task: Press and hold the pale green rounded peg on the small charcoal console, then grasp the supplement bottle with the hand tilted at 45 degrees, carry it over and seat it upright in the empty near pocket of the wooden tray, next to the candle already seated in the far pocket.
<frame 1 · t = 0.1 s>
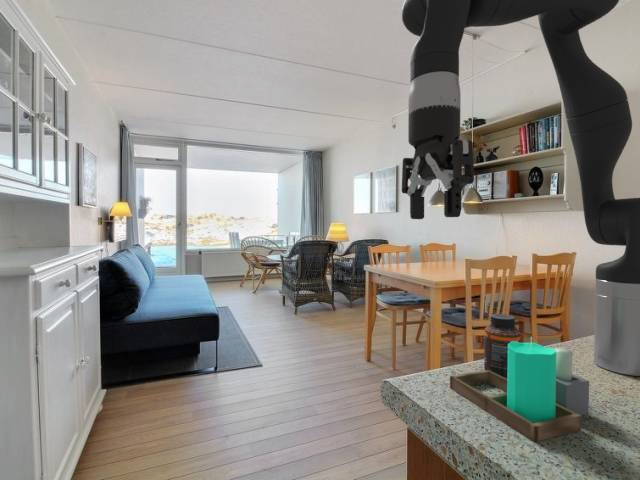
hand: (433, 218, 53), 29 cm above the countertop, tool pointing down, fingers open, 8 cm apart
supplement bottle: (501, 377, 64), on the countertop
candle: (530, 420, 50), resting in wooden tray
wooden tray: (507, 406, 54), on the countertop
start console: (561, 409, 53), on the countertop
pale green rounded peg: (562, 370, 52), point 6 cm above the countertop, slide at 0.0 cm
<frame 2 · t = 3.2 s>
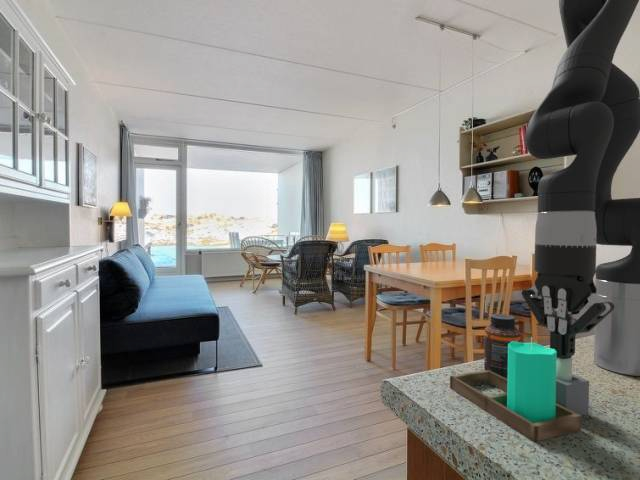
hand: (561, 356, 52), 8 cm above the countertop, tool pointing down, fingers closed
pale green rounded peg: (562, 376, 52), point 5 cm above the countertop, slide at 1.0 cm, touching gripper
everything else where it was.
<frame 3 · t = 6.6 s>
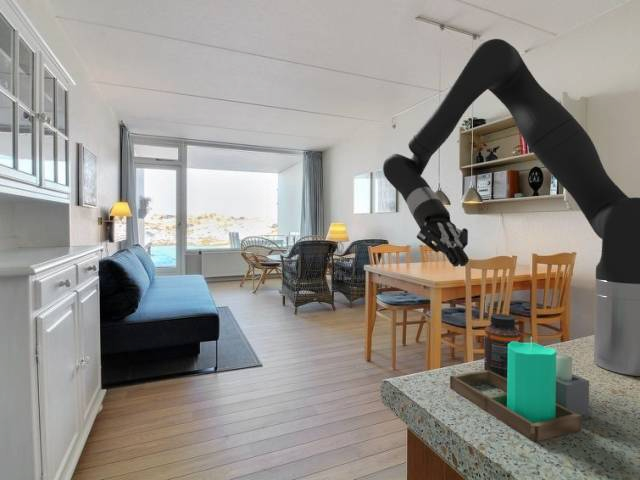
hand: (461, 263, 74), 20 cm above the countertop, tool tilted 45°, fingers closed
pale green rounded peg: (562, 376, 53), point 5 cm above the countertop, slide at 1.0 cm
everything else where it was.
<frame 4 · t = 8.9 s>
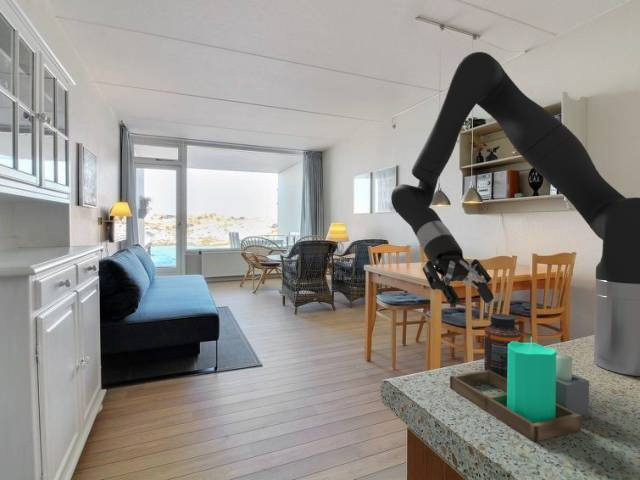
hand: (473, 302, 71), 12 cm above the countertop, tool tilted 45°, fingers open, 8 cm apart
nothing on the countertop moved.
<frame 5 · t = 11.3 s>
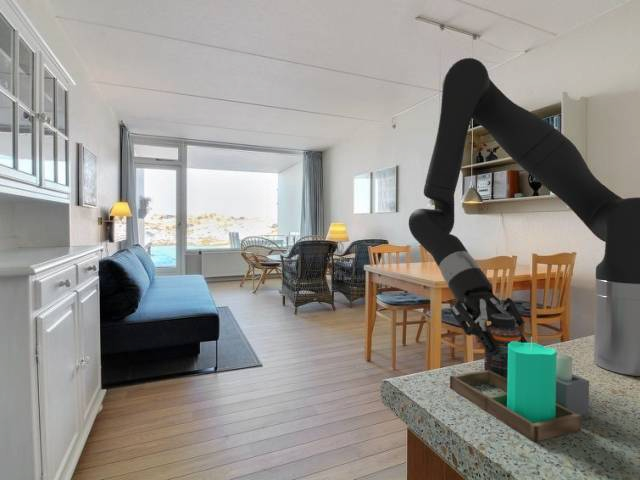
hand: (510, 351, 63), 5 cm above the countertop, tool tilted 45°, fingers closed on supplement bottle, 6 cm apart
supplement bottle: (501, 377, 64), on the countertop, touching gripper
everything else where it was.
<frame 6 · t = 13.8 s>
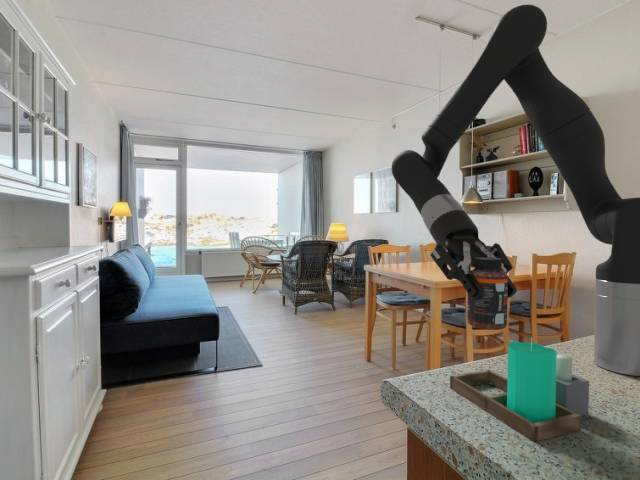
hand: (496, 296, 55), 17 cm above the countertop, tool tilted 45°, fingers closed on supplement bottle, 6 cm apart
supplement bottle: (486, 327, 57), point 11 cm above the countertop, touching gripper
everything else where it was.
when the fingers open (6 cm above the countertop, at t = 16.1 s): supplement bottle drops 1 cm, resting in wooden tray.
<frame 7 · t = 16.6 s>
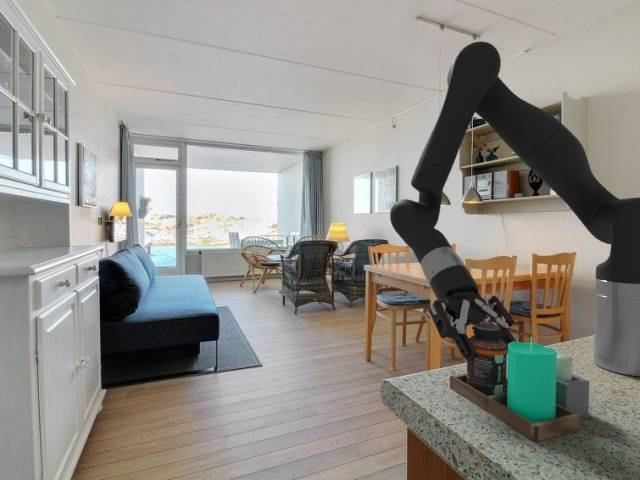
hand: (494, 355, 56), 7 cm above the countertop, tool tilted 45°, fingers open, 8 cm apart
supplement bottle: (486, 395, 58), resting in wooden tray
everything else where it was.
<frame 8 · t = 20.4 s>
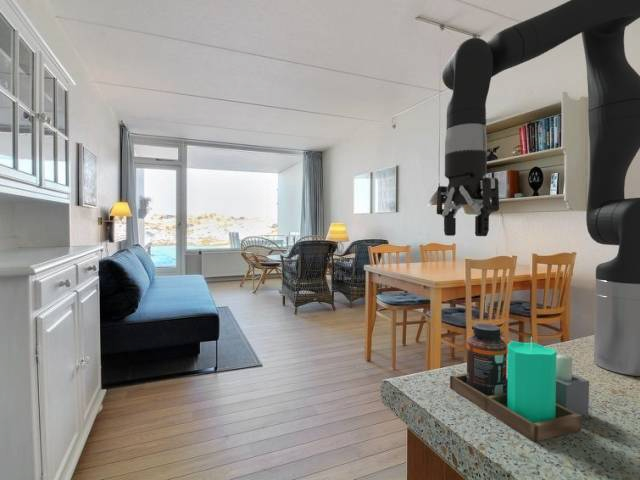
hand: (464, 235, 68), 26 cm above the countertop, tool pointing down, fingers open, 8 cm apart
nothing on the countertop moved.
at the end: supplement bottle inside the target area (0.4 cm from its centre), resting in wooden tray; supplement bottle tilted 0°; supplement bottle touching countertop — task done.
